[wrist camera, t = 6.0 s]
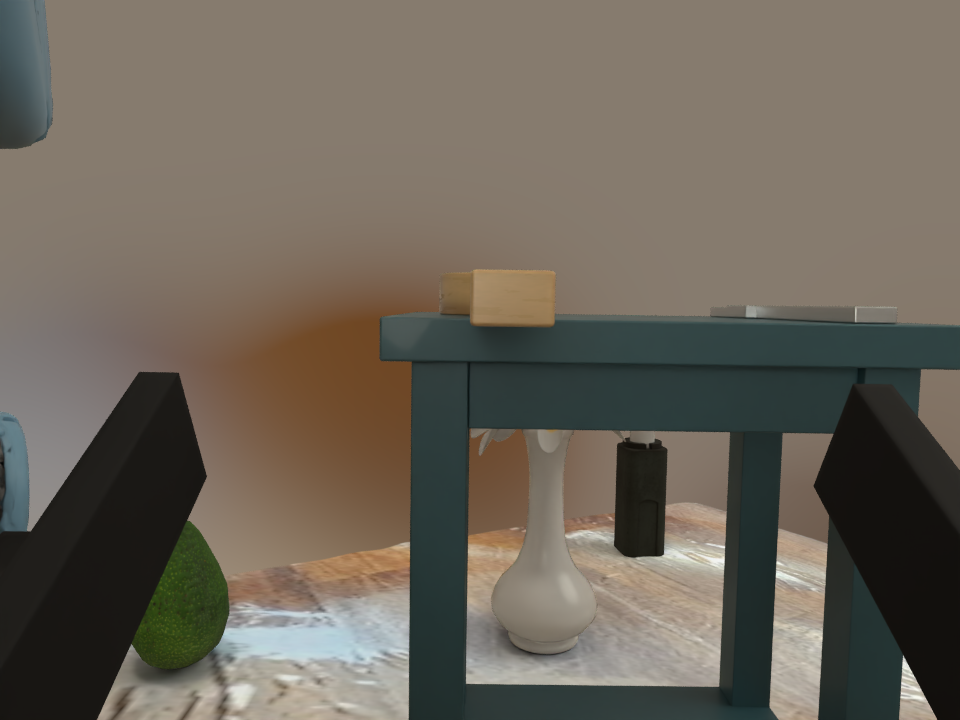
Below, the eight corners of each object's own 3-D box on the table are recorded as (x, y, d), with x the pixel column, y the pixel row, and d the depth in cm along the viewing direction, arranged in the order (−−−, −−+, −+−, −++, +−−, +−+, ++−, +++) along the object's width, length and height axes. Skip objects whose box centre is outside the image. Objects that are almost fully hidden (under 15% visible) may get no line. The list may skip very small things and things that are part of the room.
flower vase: (549, 588, 75) (555, 349, 73) (659, 671, 58) (670, 363, 57) (432, 607, 70) (434, 350, 68) (515, 704, 53) (522, 367, 51)
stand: (918, 1113, 27) (972, 325, 24) (375, 1109, 26) (379, 316, 24) (758, 821, 42) (783, 317, 39) (411, 817, 41) (416, 311, 39)
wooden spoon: (625, 328, 15) (628, 242, 15) (398, 324, 15) (399, 239, 15) (540, 314, 35) (541, 277, 35) (442, 313, 35) (442, 275, 35)
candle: (626, 557, 85) (632, 345, 83) (611, 543, 90) (617, 343, 88) (667, 555, 86) (674, 345, 84) (650, 541, 91) (656, 343, 89)
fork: (911, 324, 25) (912, 307, 25) (839, 323, 25) (840, 305, 25) (754, 317, 39) (754, 306, 39) (708, 316, 39) (708, 305, 39)
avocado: (108, 666, 58) (104, 520, 57) (201, 633, 64) (199, 500, 63) (154, 703, 53) (150, 543, 52) (250, 664, 58) (249, 519, 58)
